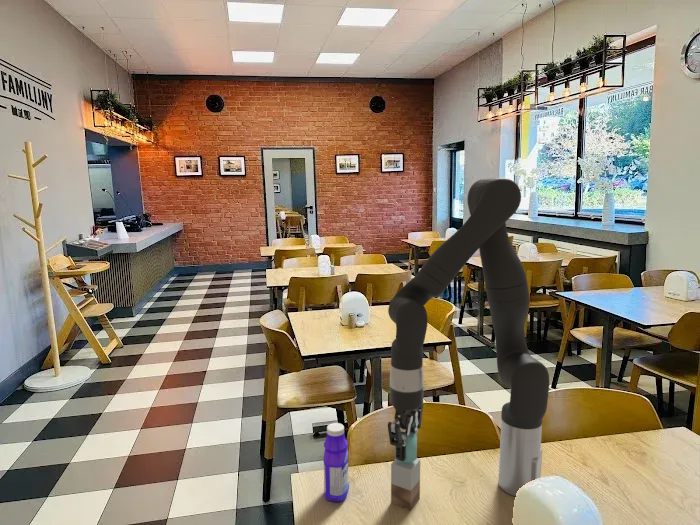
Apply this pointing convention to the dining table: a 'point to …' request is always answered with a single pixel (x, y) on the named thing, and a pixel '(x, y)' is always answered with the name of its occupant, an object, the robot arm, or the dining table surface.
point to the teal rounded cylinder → (410, 448)
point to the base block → (405, 496)
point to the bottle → (336, 463)
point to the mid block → (405, 473)
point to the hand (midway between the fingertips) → (405, 453)
